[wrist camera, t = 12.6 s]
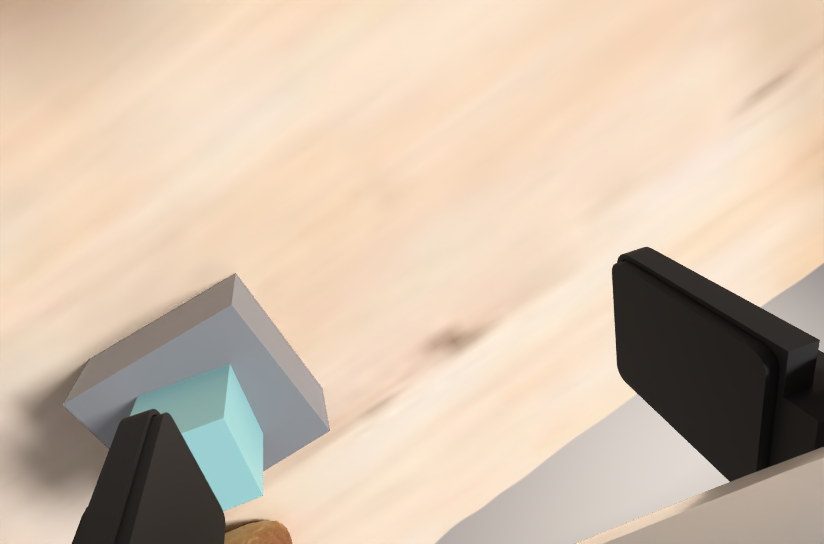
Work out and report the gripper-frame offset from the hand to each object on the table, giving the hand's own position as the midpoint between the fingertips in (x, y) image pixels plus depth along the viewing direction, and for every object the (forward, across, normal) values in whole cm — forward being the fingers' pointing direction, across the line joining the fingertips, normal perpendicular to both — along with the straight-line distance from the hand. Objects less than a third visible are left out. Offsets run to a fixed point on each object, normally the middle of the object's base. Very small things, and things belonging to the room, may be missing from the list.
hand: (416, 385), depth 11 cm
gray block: (+29, +12, +15) cm, 34 cm away
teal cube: (+23, +12, +14) cm, 29 cm away
